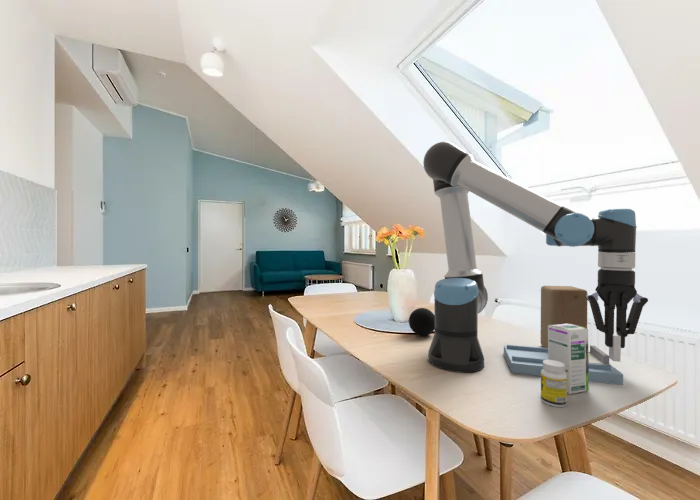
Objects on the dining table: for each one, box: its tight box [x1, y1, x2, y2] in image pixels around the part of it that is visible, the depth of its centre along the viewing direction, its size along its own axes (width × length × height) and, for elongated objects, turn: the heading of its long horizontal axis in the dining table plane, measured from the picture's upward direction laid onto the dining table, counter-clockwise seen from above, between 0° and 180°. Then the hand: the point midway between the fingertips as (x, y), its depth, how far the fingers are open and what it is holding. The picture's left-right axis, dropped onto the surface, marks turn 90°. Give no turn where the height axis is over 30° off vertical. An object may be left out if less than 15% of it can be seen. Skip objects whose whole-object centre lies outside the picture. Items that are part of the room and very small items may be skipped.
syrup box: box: [548, 323, 590, 395], centre depth 76 cm, size 6×6×14 cm
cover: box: [588, 344, 611, 365], centre depth 87 cm, size 10×9×3 cm
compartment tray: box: [503, 343, 624, 386], centre depth 89 cm, size 24×16×4 cm, turn 71°
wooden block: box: [540, 285, 588, 348], centre depth 103 cm, size 10×10×20 cm
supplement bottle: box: [540, 360, 568, 408], centre depth 69 cm, size 5×5×8 cm
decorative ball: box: [408, 307, 435, 336], centre depth 121 cm, size 10×10×10 cm
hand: (614, 359), depth 85 cm, fingers closed
